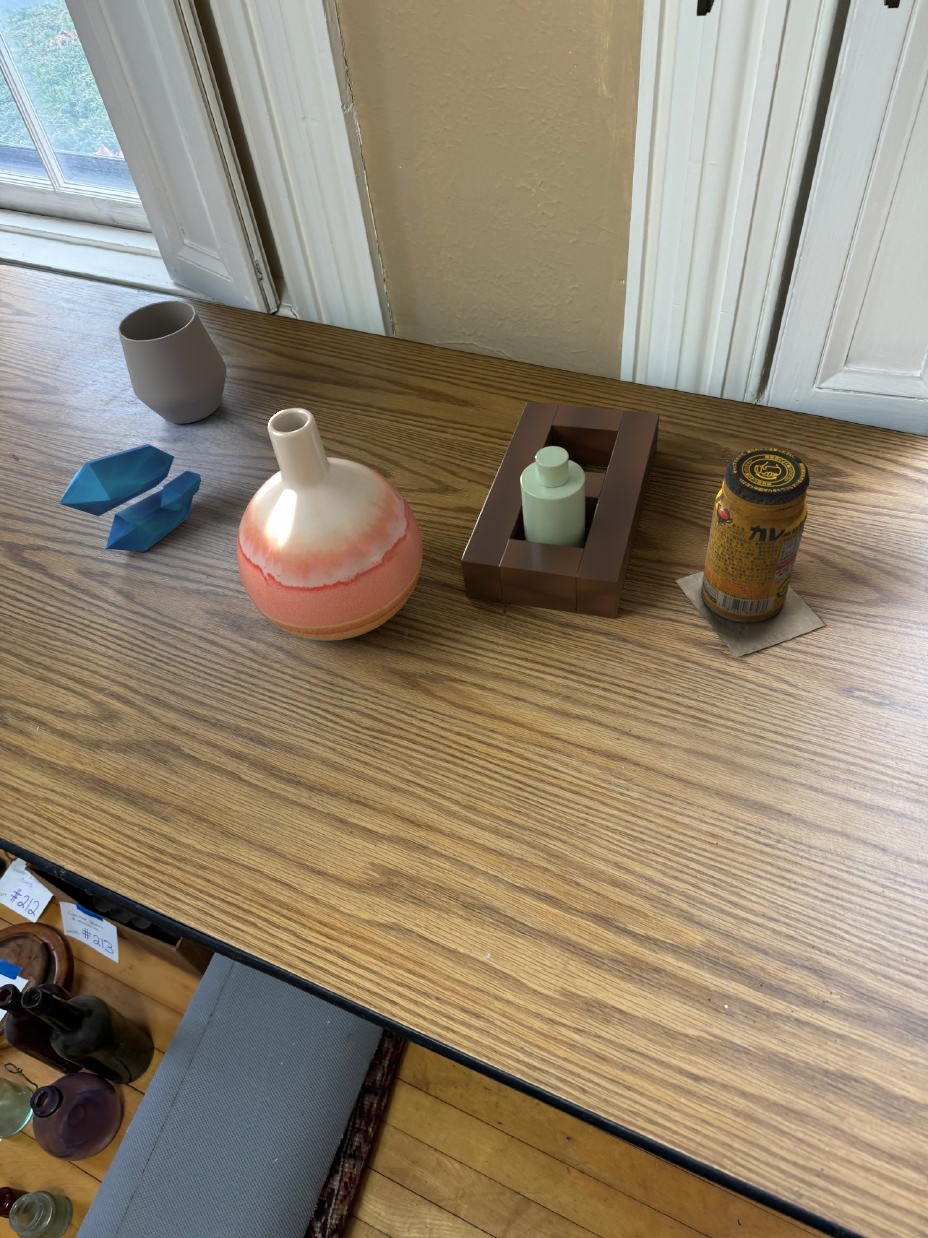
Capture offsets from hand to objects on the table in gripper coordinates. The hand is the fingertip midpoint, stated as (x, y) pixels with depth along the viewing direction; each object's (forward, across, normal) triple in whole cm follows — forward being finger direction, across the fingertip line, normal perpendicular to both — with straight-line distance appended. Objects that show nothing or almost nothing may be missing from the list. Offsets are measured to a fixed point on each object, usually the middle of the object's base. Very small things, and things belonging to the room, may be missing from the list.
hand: (795, 4), depth 47 cm
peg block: (+34, +12, +6) cm, 37 cm away
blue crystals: (+34, +48, +14) cm, 61 cm away
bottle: (+34, +12, +10) cm, 38 cm away
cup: (+34, +54, -4) cm, 64 cm away
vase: (+34, +27, +19) cm, 48 cm away
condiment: (+34, -3, +13) cm, 37 cm away
